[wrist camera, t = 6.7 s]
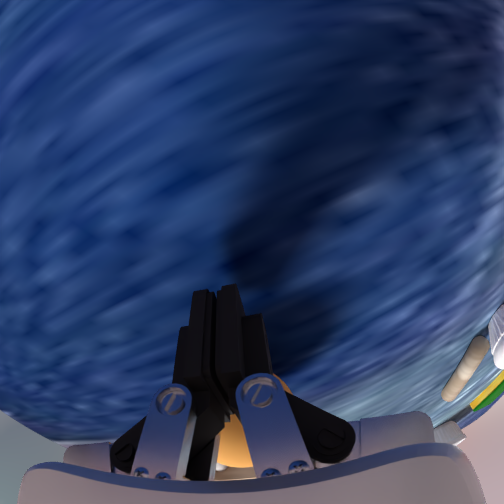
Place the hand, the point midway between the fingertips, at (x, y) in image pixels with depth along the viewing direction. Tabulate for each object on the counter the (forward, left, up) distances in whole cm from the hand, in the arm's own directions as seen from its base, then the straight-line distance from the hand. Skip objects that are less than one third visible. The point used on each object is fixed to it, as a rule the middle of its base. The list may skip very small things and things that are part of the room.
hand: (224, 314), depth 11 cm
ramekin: (-27, +45, -2) cm, 53 cm away
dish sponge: (-38, +32, -2) cm, 50 cm away
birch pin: (-19, +12, -1) cm, 23 cm away
